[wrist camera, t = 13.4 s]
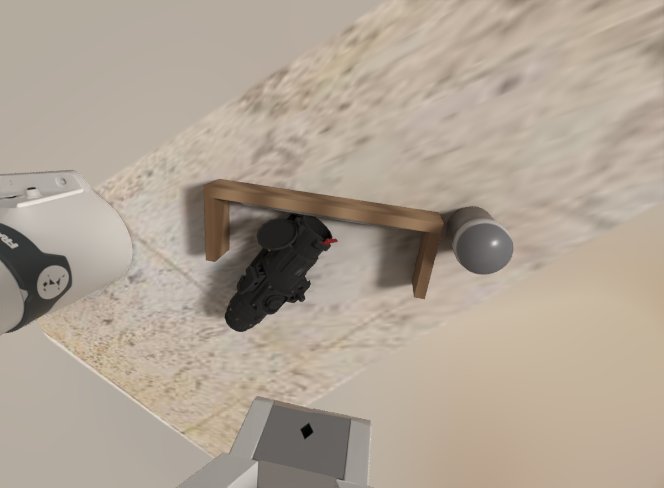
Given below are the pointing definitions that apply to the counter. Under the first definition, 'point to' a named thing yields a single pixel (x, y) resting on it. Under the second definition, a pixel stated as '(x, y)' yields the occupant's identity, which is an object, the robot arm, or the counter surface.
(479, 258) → the gray domed cylinder
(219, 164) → the counter surface
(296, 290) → the night vision scope
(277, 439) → the robot arm
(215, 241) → the bracket
